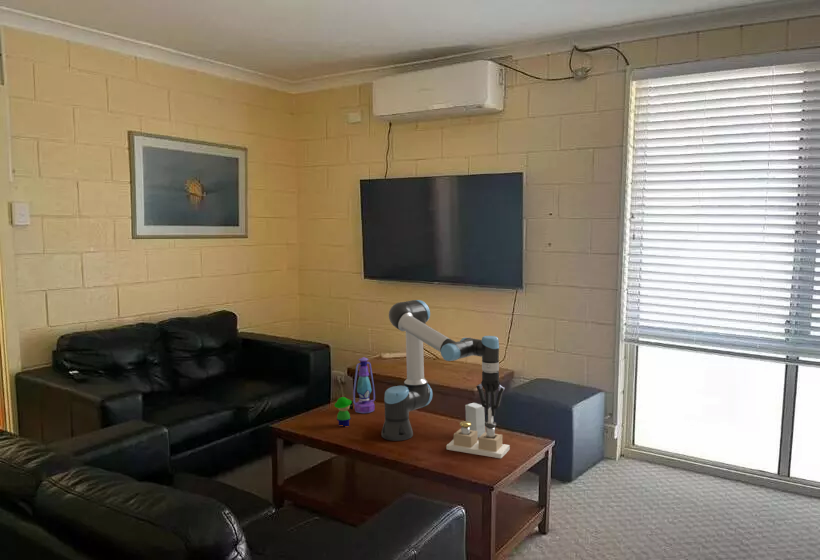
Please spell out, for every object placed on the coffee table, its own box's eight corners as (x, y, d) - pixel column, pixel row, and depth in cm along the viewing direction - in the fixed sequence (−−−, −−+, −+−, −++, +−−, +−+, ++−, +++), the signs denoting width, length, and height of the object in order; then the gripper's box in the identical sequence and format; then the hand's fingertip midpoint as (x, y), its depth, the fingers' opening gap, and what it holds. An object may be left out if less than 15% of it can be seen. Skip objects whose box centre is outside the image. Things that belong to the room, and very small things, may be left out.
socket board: (446, 449, 284) (446, 434, 283) (456, 441, 295) (456, 426, 294) (501, 458, 272) (501, 442, 272) (509, 449, 283) (509, 434, 282)
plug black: (483, 444, 279) (483, 424, 278) (487, 440, 284) (486, 420, 283) (494, 446, 277) (494, 425, 276) (497, 442, 282) (497, 422, 281)
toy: (355, 424, 320) (355, 396, 319) (345, 429, 313) (344, 400, 312) (342, 421, 325) (341, 393, 324) (331, 426, 318) (330, 397, 316)
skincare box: (485, 435, 301) (485, 405, 300) (476, 438, 298) (475, 408, 297) (474, 431, 308) (474, 401, 307) (465, 433, 305) (464, 403, 304)
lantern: (369, 406, 352) (368, 354, 349) (380, 411, 342) (379, 357, 339) (348, 410, 345) (347, 357, 342) (358, 415, 335) (357, 360, 332)
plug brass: (458, 443, 285) (458, 423, 284) (462, 440, 289) (462, 420, 289) (468, 445, 282) (468, 425, 282) (473, 441, 287) (472, 422, 286)
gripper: (473, 371, 277) (474, 423, 279) (501, 374, 271) (502, 427, 273) (479, 367, 284) (479, 418, 286) (507, 370, 278) (507, 422, 280)
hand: (490, 422), depth 279 cm, fingers closed
